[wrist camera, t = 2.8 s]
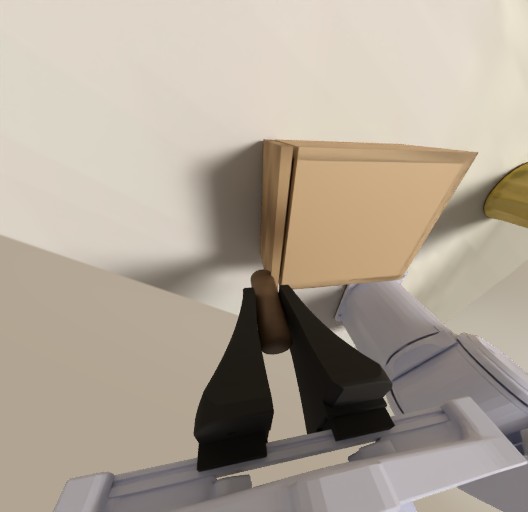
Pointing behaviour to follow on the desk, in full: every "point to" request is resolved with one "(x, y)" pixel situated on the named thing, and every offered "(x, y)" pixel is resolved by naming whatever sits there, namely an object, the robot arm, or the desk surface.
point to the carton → (362, 209)
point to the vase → (510, 198)
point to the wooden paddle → (272, 248)
